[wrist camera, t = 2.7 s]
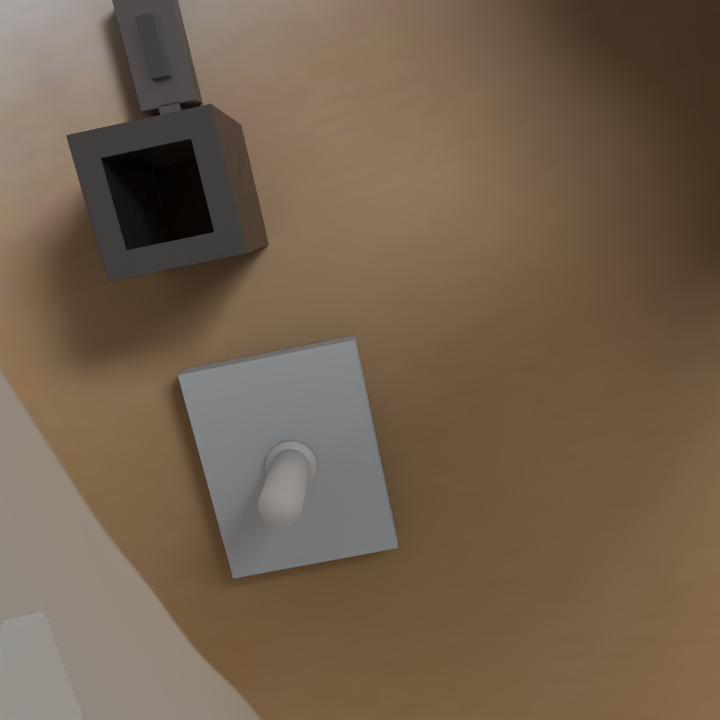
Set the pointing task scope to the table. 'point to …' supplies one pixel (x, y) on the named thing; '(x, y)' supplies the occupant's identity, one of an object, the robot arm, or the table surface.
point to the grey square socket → (164, 157)
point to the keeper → (290, 456)
